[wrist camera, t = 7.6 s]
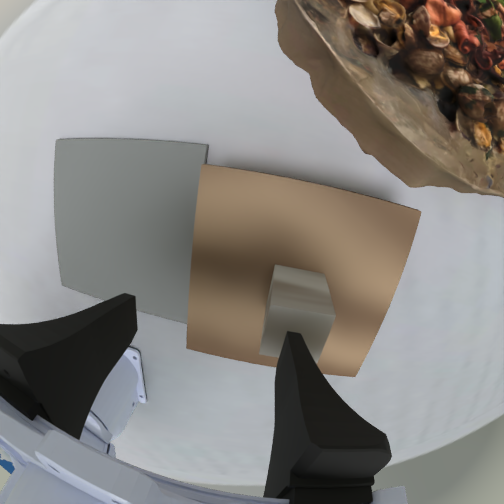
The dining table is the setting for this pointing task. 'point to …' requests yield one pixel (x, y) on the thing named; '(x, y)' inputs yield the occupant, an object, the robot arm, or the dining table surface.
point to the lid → (292, 267)
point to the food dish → (409, 82)
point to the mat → (128, 219)
